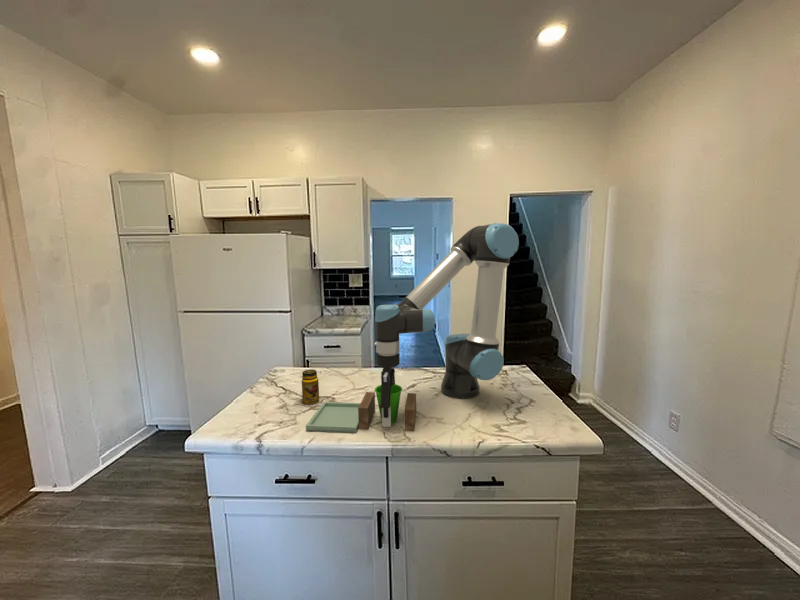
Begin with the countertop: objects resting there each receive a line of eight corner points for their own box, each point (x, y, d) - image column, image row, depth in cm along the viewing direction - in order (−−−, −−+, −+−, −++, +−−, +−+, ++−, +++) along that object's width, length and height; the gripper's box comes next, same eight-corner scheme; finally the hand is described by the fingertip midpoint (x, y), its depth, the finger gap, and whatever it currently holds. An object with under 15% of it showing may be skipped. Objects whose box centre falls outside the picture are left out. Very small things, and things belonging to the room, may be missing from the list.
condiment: (314, 407, 128) (312, 375, 127) (293, 404, 131) (292, 373, 129) (324, 399, 135) (322, 368, 134) (304, 396, 138) (303, 367, 136)
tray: (367, 408, 127) (367, 403, 127) (356, 433, 109) (356, 427, 109) (324, 406, 128) (323, 401, 128) (306, 431, 111) (305, 425, 110)
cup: (399, 428, 112) (399, 395, 110) (372, 425, 114) (371, 393, 112) (405, 415, 120) (404, 384, 119) (379, 413, 122) (378, 382, 121)
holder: (416, 412, 122) (416, 393, 122) (414, 431, 110) (414, 409, 109) (366, 411, 124) (366, 392, 123) (358, 429, 111) (358, 408, 111)
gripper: (381, 343, 126) (382, 403, 129) (369, 363, 103) (371, 435, 106) (402, 344, 125) (403, 403, 128) (395, 364, 102) (396, 436, 105)
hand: (388, 418), depth 117 cm, fingers open, 10 cm apart
